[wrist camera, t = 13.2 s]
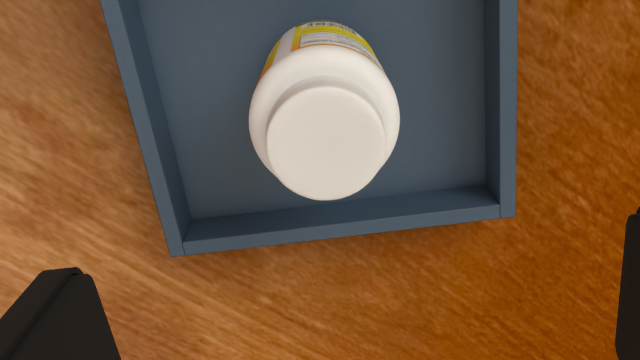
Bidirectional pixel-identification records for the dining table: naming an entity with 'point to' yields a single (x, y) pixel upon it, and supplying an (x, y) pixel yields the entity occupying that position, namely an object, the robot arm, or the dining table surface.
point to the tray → (237, 91)
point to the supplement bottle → (323, 111)
